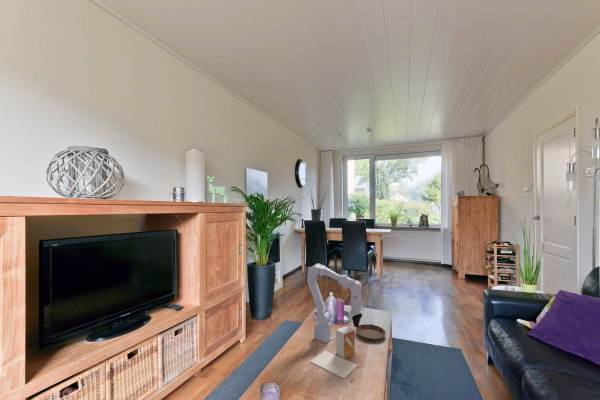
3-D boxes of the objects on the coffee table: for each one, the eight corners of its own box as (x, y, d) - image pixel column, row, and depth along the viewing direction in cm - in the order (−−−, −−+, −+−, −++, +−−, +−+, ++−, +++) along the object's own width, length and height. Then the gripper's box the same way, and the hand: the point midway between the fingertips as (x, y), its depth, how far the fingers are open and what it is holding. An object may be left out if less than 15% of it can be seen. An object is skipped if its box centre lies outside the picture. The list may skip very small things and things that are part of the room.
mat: (310, 362, 135) (310, 361, 135) (324, 351, 145) (324, 350, 145) (343, 378, 122) (343, 378, 122) (357, 365, 132) (357, 365, 132)
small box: (343, 359, 138) (343, 334, 138) (335, 353, 143) (335, 329, 143) (355, 354, 142) (355, 330, 142) (346, 349, 147) (346, 325, 148)
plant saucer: (389, 343, 154) (389, 338, 154) (359, 342, 154) (359, 337, 154) (380, 328, 172) (380, 324, 172) (353, 328, 172) (353, 323, 172)
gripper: (356, 308, 144) (356, 333, 144) (368, 300, 155) (368, 324, 155) (344, 305, 148) (345, 329, 148) (357, 298, 159) (357, 320, 159)
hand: (356, 326), depth 152 cm, fingers closed
